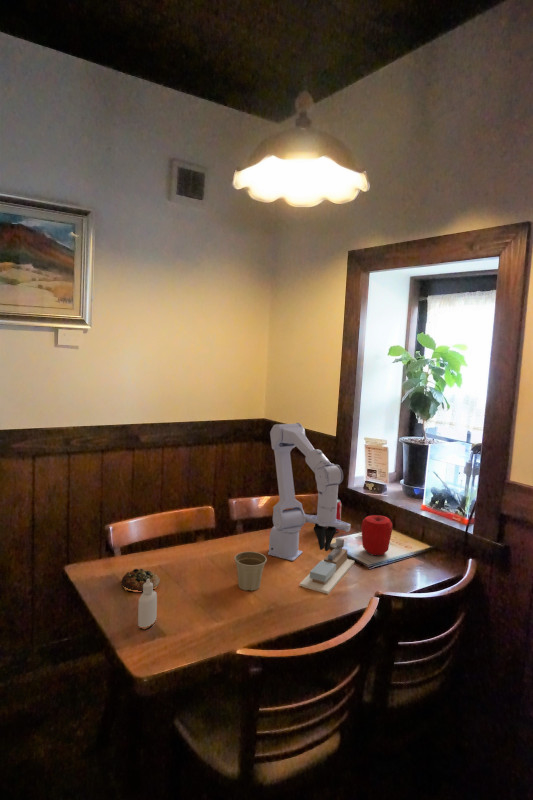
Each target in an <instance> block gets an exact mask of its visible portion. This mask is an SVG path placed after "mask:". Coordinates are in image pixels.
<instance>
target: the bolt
mask: <svg viewBox="0 0 533 800" xmlns="http://www.w3.org/2000/svg"><path fill="white" fill-rule="evenodd" d="M344 546H345V538H341V537H336V539H335V547H336V548H335V547H334V548H335V549H334V548H333V549H334V550H333V549H332V550H333V551H332V550H331V551H332V552H331V553H330V552H329V553H330V554H329V553H328V554H329V555H328V554H327V555H328V559H330V560H333V559H334V558H335V557H336V556H337V555H338V554H339V553H340V552H341V551H342V549H343V548H344Z"/></svg>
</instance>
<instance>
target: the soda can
mask: <svg viewBox="0 0 533 800" xmlns="http://www.w3.org/2000/svg"><path fill="white" fill-rule="evenodd" d="M336 519H338V520H340V521H342V520H341V519H342V502H341V499H339V498H337V513H336ZM326 528H328V527H326ZM339 531H340V529H337V531H336V533H338V532H339Z"/></svg>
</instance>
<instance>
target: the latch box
mask: <svg viewBox="0 0 533 800" xmlns="http://www.w3.org/2000/svg"><path fill="white" fill-rule="evenodd" d="M336 547H337V546H335V547H334V548H333V549H332V550H331V552H332V551H333V550H334V549H335V548H336ZM331 552H329V553H328V554H327V555H326V556H325V557H324V558H323V559H322V561H325V562H329V563H333V564H336V571H335V572H334V573H333V574H332V575H331V577H330V578H329V579H328V580H327V581H326V582H323V581H319V580H315V579H312V578H310V573H309V574H308V575H306V576H305V578H303V579H302V581H301V582H300V583H299V586H300V587H301V586H302V588H305V589H310V590H313V591H316V592H320V593H323V594H327V595H329V594H330V593H331V591H332V590H333V589H334V588H335V587H336V586H337V584H338V583H339V582H340V581H341V580H342V578H343V577H344V576H345V575H346V574H347V573H348V571H349V570H350V569H351V568H352V566H353V565H354V564H355V560H353V559H349V558H348V549H347V548H342V551H341V552H340V553H339V554H338V555H337V556H336V557H335V558H334V559H333V560H330V559H328V555H329V554H330V553H331Z"/></svg>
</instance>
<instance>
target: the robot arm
mask: <svg viewBox="0 0 533 800" xmlns="http://www.w3.org/2000/svg"><path fill="white" fill-rule="evenodd" d="M270 429H271V430H270V431H269V435H270V444H271V449H272V450H273V452H274V453H273V454H274V458H275V461H274V462H275V469H276V471H275V472H276V478H277V479H276V480H277V487H278V497H279V500H278V502H277V503H276V504H275V505H273V507H272V511H273V514H272V524H273V527H272V528H271V530H270V532H269V537H268V538H269V541H268V544H269V545H268V552H267V555H269V556H272V557H276V558H280V559H284V560H289V561H292V562H293V561H295V560H296V559H297V558H298V557H299V556H301V554H303V550H299V545H300V543H299V542H300V531H301V530H302V527H303V526H305V523H310V524H314V526H313V532H314V533H315V535H316V538H317V541H318V546H319V550H320V551H323V549H324V551H325V552H328V551H329V550H330V547H331V543H332V541H333V538H334V537H335V535H336V533H337V532H336V531H337V529H340V530H341V531H344V532H346V533H349V532H350V531H351V528H352V527H351V526H352V525H351V523H348V522H345V521H342V520H338V519H336V513H337V499H339V497H338V493H339V485H340V484H341V483H342V482H343V480H344V472H343V469H342V467H341V466H340V465H339V464H334V463H331V462H330V460H329V459H328V457H326V455H325V454H324V453H323V451H322V450H321V449H315V448H314V446H313V445H312V443H311V442H310V440H309V439H308V438H307V435H306V431H305V428H304V427H303V424H301V422H296V423H283V424H282V423H281V424H278V423H277V424H273V426H272V428H270ZM295 447H296V448H297V449H298V450H299V451H300V452H301V453H302V454H303V455H304V456H305V458H304V459H305V460H304V461H305V463H306V464H307V465H308V467H309V468H310V470H312V472H313V473H314V476H315V477H314V478H315V479H314V480H315V482H316V490H317V492H318V494H317V507H316V508H317V512H316V514H315V515H314V514H306V513H305V511H304V509H303V503H301V502H300V501H299V500H297V499H296V495H295V494H296V492H295V485H294V477H293V476H294V475H293V468H292V459H291V458H292V457H291V452H292V450H293V449H294V448H295ZM326 527H328V528H326ZM340 530H339V531H340Z"/></svg>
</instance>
